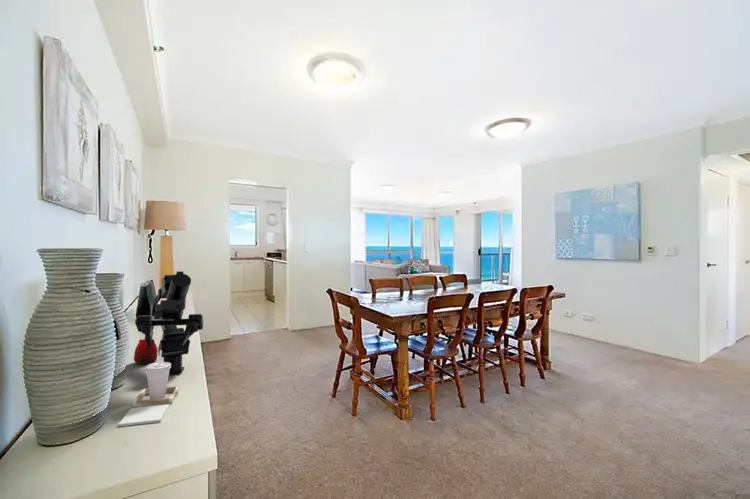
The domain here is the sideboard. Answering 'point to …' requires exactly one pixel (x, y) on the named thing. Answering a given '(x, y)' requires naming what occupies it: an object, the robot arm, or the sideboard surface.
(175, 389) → the frame
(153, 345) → the red clay folk toy
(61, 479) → the sideboard surface
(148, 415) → the mat
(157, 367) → the smoothie
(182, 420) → the sideboard surface
